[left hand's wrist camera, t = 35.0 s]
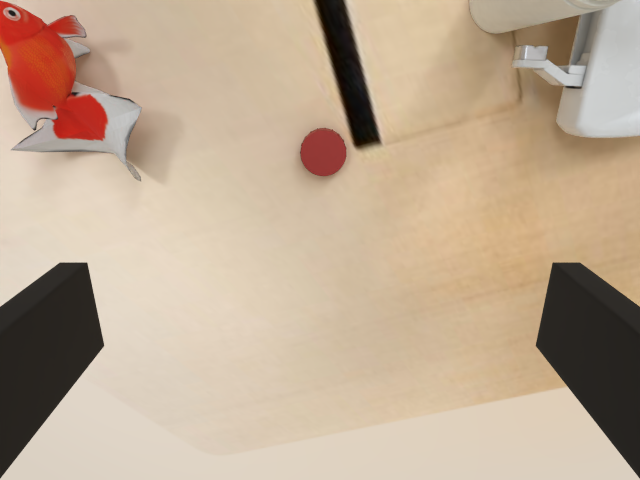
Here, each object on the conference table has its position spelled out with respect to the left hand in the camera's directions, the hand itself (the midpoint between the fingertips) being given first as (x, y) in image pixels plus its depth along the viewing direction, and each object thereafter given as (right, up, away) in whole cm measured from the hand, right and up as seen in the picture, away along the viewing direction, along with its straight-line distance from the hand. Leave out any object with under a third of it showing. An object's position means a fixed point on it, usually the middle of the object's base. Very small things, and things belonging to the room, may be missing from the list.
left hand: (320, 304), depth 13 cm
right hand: (+14, +20, +18) cm, 30 cm away
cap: (0, +10, +27) cm, 29 cm away
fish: (-20, +15, +27) cm, 36 cm away
